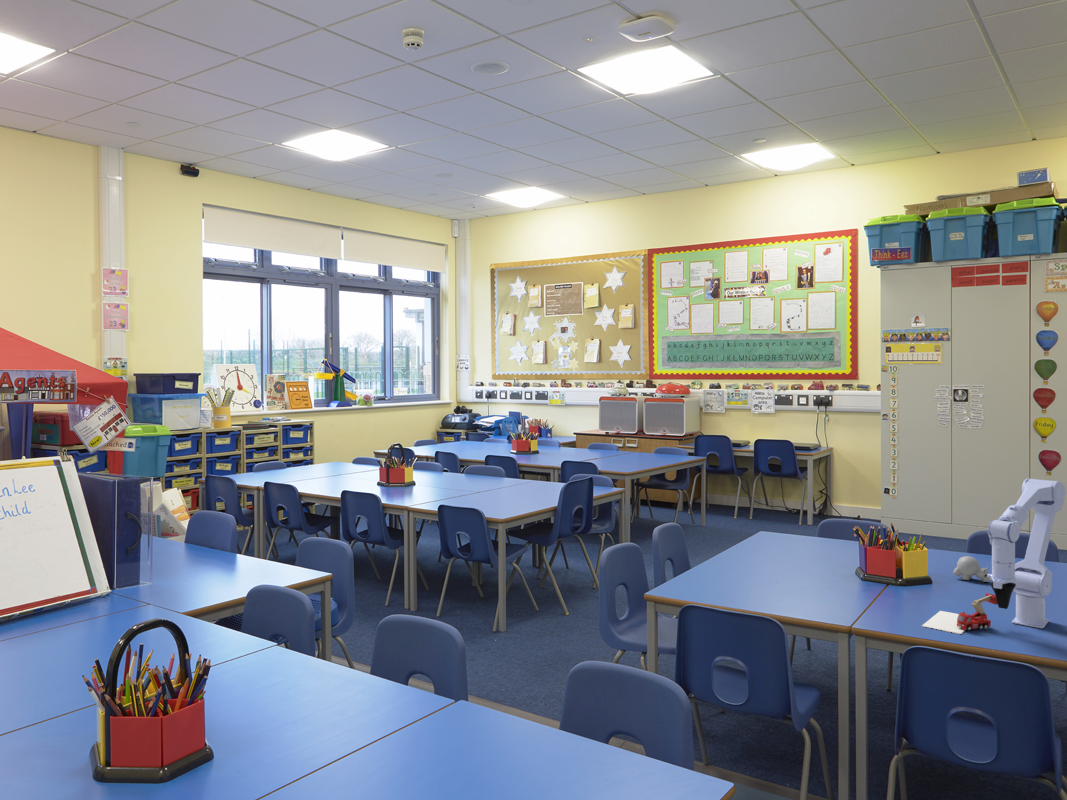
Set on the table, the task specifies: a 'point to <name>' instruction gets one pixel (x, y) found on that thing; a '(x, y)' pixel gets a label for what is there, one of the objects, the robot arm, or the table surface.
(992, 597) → the toy fire truck
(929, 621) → the mat
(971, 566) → the chubby cartoon animal
